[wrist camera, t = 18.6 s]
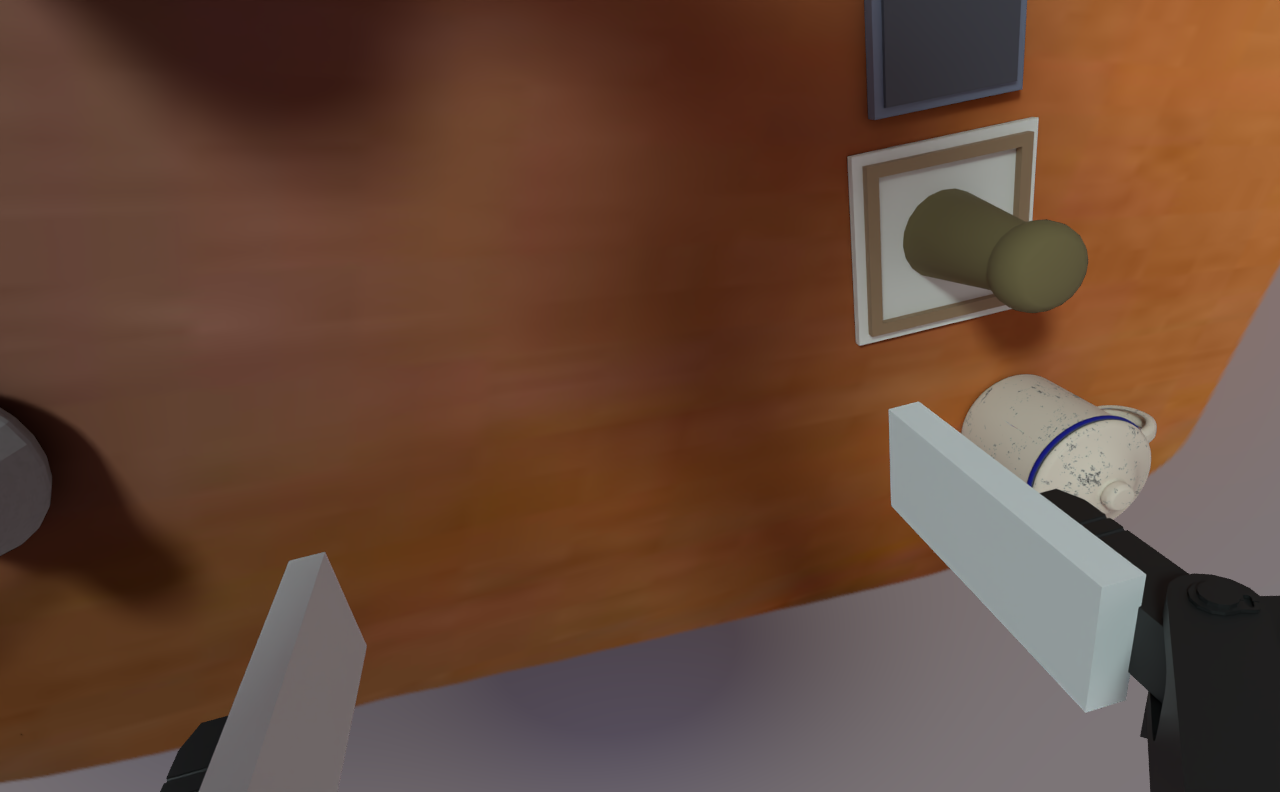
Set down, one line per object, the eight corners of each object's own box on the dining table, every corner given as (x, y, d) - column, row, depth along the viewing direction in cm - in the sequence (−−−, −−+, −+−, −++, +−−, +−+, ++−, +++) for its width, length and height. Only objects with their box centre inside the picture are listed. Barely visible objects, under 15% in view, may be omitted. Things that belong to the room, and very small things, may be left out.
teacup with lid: (961, 488, 60) (1062, 576, 50) (949, 394, 56) (1057, 468, 46) (1095, 437, 61) (1222, 513, 50) (1092, 339, 57) (1230, 400, 46)
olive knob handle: (1000, 208, 50) (1128, 241, 40) (955, 289, 52) (1067, 341, 42) (931, 174, 48) (1048, 201, 38) (887, 260, 50) (987, 307, 40)
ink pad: (862, -65, 42) (872, -68, 41) (1021, -94, 43) (1035, -98, 42) (868, 119, 46) (877, 120, 45) (1013, 88, 47) (1025, 89, 46)
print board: (847, 156, 47) (855, 158, 46) (1032, 116, 48) (1044, 118, 47) (855, 342, 53) (863, 348, 52) (1021, 302, 54) (1032, 307, 53)
